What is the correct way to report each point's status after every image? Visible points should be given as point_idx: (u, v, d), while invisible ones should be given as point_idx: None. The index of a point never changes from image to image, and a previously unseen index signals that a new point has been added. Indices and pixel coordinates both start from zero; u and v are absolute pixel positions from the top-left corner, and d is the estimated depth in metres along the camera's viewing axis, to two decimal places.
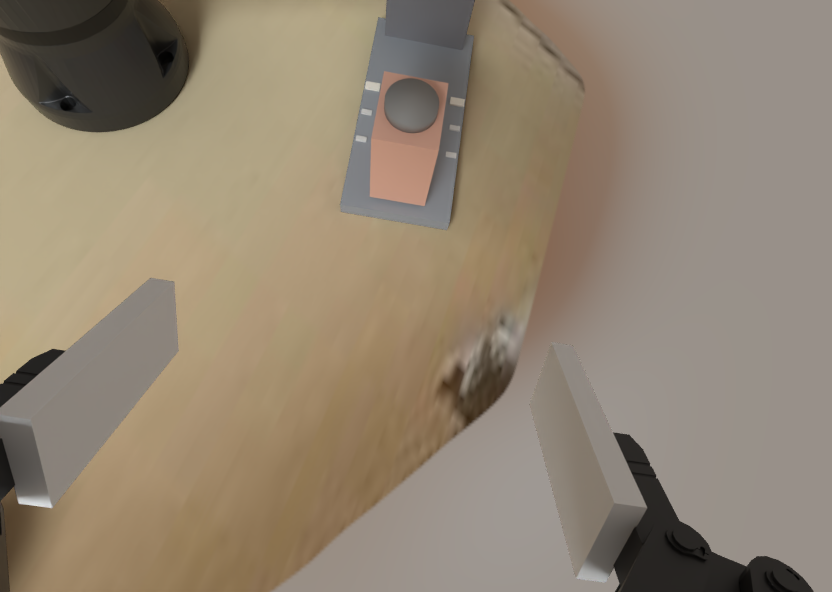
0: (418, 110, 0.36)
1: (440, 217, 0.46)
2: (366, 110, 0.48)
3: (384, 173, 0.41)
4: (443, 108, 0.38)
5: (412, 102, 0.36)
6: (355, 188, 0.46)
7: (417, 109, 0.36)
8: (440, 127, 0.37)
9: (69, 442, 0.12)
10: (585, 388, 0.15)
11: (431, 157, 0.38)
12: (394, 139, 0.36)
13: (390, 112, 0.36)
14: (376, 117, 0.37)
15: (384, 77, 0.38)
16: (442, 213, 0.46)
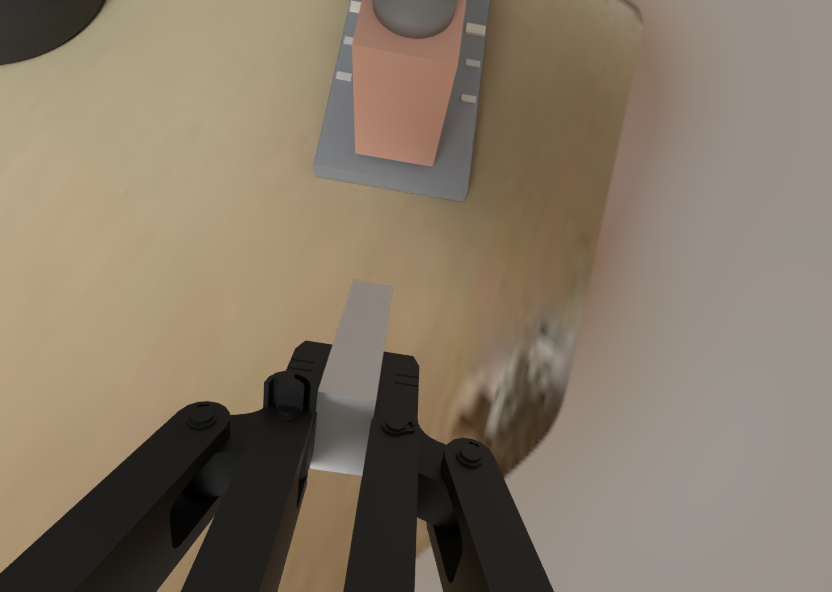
0: (425, 0, 0.23)
1: (455, 183, 0.32)
2: (351, 39, 0.35)
3: (374, 112, 0.28)
4: (463, 4, 0.25)
5: None
6: (335, 142, 0.32)
7: None
8: (459, 31, 0.24)
9: None
10: (381, 317, 0.16)
11: (446, 79, 0.24)
12: (388, 47, 0.23)
13: (382, 2, 0.23)
14: (360, 14, 0.24)
15: None
16: (457, 177, 0.33)
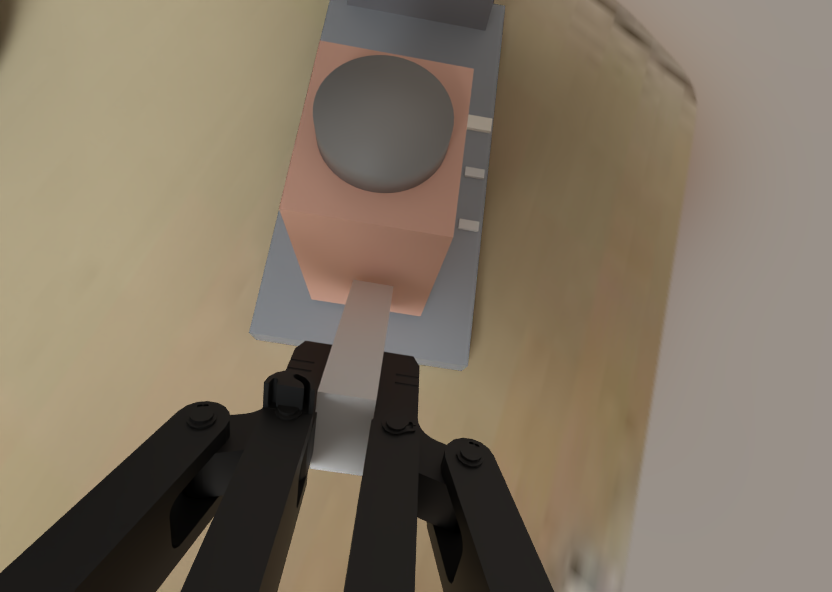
0: (400, 136, 0.14)
1: (449, 354, 0.23)
2: None
3: (330, 270, 0.19)
4: (463, 129, 0.15)
5: (385, 115, 0.14)
6: (281, 297, 0.23)
7: (397, 133, 0.14)
8: (456, 177, 0.15)
9: None
10: (381, 317, 0.16)
11: (435, 249, 0.15)
12: (339, 210, 0.14)
13: (326, 142, 0.14)
14: (295, 153, 0.15)
15: (320, 55, 0.16)
16: (453, 345, 0.23)
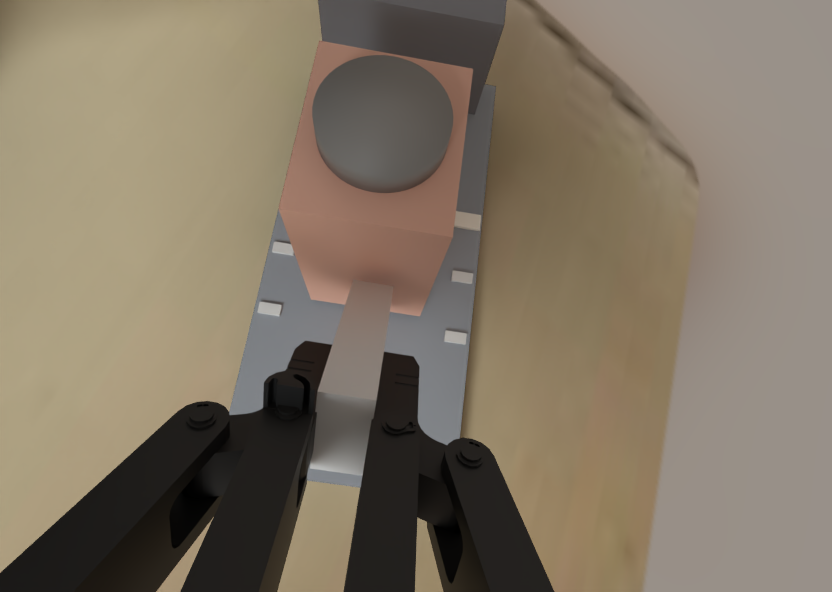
0: (400, 136, 0.14)
1: None
2: (283, 245, 0.24)
3: (329, 270, 0.19)
4: (462, 129, 0.15)
5: (384, 115, 0.14)
6: None
7: (397, 133, 0.14)
8: (456, 177, 0.15)
9: None
10: (381, 317, 0.16)
11: (435, 249, 0.15)
12: (339, 210, 0.14)
13: (326, 142, 0.14)
14: (295, 153, 0.15)
15: (319, 55, 0.16)
16: None
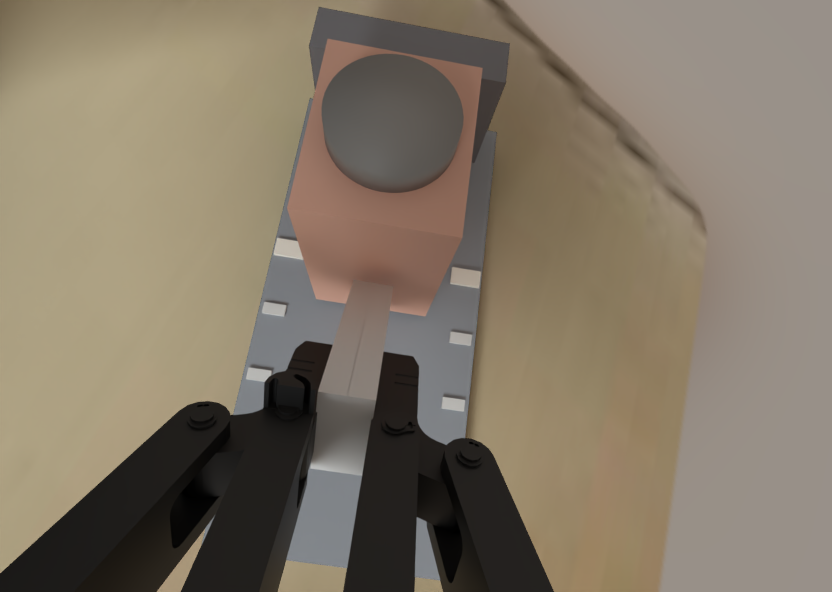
0: (409, 135, 0.14)
1: (429, 567, 0.20)
2: (274, 305, 0.23)
3: (336, 270, 0.18)
4: (472, 128, 0.15)
5: (394, 115, 0.14)
6: None
7: (407, 133, 0.14)
8: (465, 176, 0.15)
9: None
10: (381, 317, 0.16)
11: (443, 249, 0.15)
12: (348, 210, 0.14)
13: (335, 141, 0.14)
14: (303, 152, 0.15)
15: (328, 53, 0.16)
16: None
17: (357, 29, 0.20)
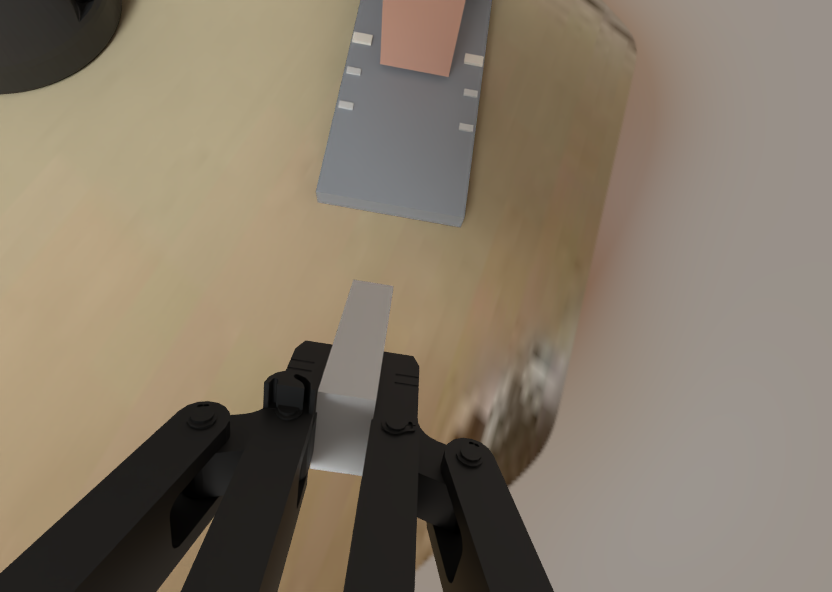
0: None
1: (452, 209, 0.34)
2: (353, 69, 0.36)
3: (399, 16, 0.32)
4: None
5: None
6: (337, 170, 0.34)
7: None
8: None
9: None
10: (381, 317, 0.16)
11: None
12: None
13: None
14: None
15: None
16: (454, 204, 0.34)
17: None
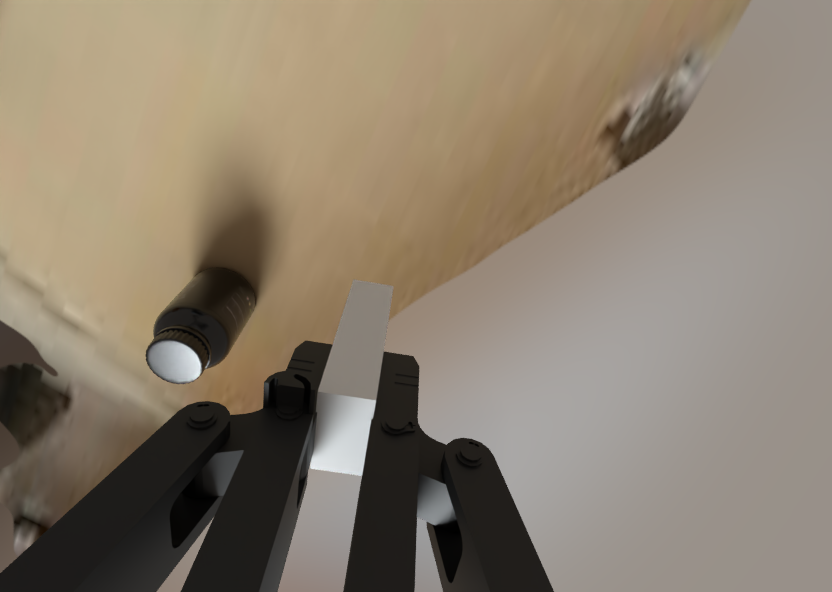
0: None
1: None
2: None
3: None
4: None
5: None
6: None
7: None
8: None
9: None
10: (381, 317, 0.16)
11: None
12: None
13: None
14: None
15: None
16: None
17: None
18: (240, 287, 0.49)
